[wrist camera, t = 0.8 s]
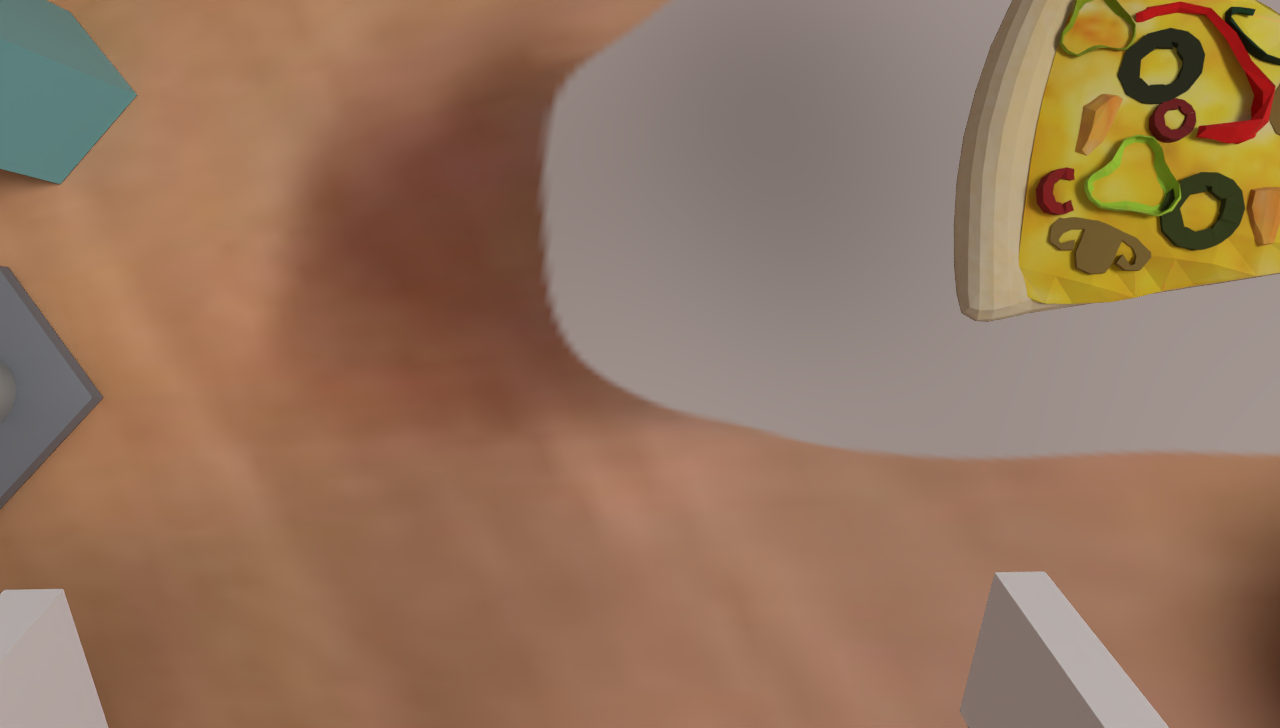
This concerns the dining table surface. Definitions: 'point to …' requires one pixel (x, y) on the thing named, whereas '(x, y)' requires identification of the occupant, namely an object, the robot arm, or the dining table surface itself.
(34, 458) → the post
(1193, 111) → the pizza slice
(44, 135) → the teal rectangular prism
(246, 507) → the dining table surface
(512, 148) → the dining table surface
